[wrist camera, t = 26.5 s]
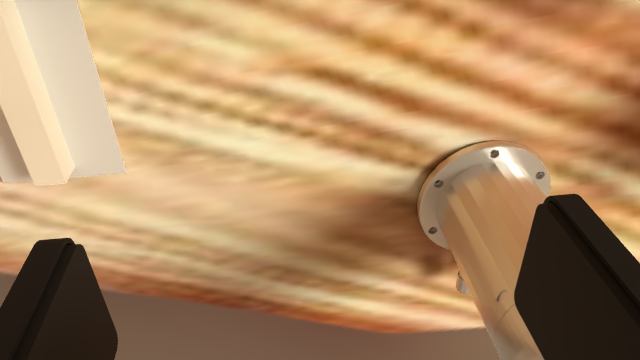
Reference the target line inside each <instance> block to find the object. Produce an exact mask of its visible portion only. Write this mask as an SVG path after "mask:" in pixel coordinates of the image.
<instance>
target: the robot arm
mask: <svg viewBox="0 0 640 360" xmlns="http://www.w3.org/2000/svg"><path fill="white" fill-rule="evenodd" d="M550 189H551V185H550V176H549V173H548V170H547V168H546V167H545V165H544V164H543V162H542V161H541V160H540V159H539V157H538V156H537V155H536V154H535V153H534V152H532V151H531V150H529V149H528V148H526V147H525V146H522V145H519V144H516V143H513V142H506V141H488V142H483V143H478V144H474V145H472V146H469V147H466V148H464V149H461V150H460V151H458V152H456V153H454V154H452V155H450V156H449V157H448V158H447V159H445V160H444V161H443V162H441V163H440V164H439V165H438V166H437V167H436V168H435V169H434V170H433V171H432V172H431V173H430V175H429V176H428V178H427V179H426V181H425V182H424V184H423V186H422V188H421V191H420V193H419V197H418V202H417V214H418V218H419V221H420V224H421V226H422V228H423V230H424V232H425V234H426V235H427V236H428V238H429V239H430V240H431V241H433V242H434V243H435V244H437V245H438V246H440V247H442V248H444V249H447V250H450V251H451V253H452V255H453V257H454V259H455V261H456V264H457V266H458V268H459V272H458V277H457V283H456V288H457V290H458V291H459V292H461V293H463V294H471V296H472V298H473V300H474V303H475V305H476V307H477V309H478V311H479V313H480V316H481V318H482V320H483V322H484V324H485V326H486V329H487V331H488V333H489V335H490V337H491V339H492V342H493V344H494V346H495V348H496V350H497V352H498V354H499V356H500V358H501V360H640V263H639V262H638V261H637V260H636V259H635V257H634V256H633V255H632V254H631V253H630V252H629V251H628V249H627V248H626V247H625V246H624V245H623V244H622V243H621V242H620V240H619V239H618V238H617V237H616V236H615V235H614V234H613V233H612V231H611V230H610V229H609V228H608V227H607V226H606V225H605V223H604V222H603V221H602V220H601V219H600V218H599V217H598V216H597V214H596V213H595V212H594V211H593V210H592V209H591V208H590V207H589V205H588V204H587V203H586V202H585V201H584V200H583V199H582V198H581V197H580V196H579V195H577V194H567V195H556V196H549V195H550ZM117 344H118V338H117V332H116V329H115V327H114V324H113V322H112V319H111V316H110V314H109V311H108V309H107V306H106V303H105V301H104V298H103V296H102V293H101V290H100V288H99V285H98V283H97V280H96V278H95V275H94V272H93V270H92V267H91V265H90V262H89V259H88V257H87V254H86V252H85V249H84V247H83V246H82V245H81V244H76V245H75V243H74V242H73V240H72V239H71V238H61V239H49V240H39V241H38V242H36V243H35V245H34V246H33V248H32V250H31V252H30V254H29V256H28V257H27V259H26V261H25V263H24V265H23V267H22V269H21V271H20V272H19V274H18V276H17V278H16V280H15V282H14V284H13V286H12V287H11V289H10V291H9V293H8V295H7V297H6V298H5V300H4V302H3V304H2V306H1V308H0V360H114V358H115V354H116V351H117Z"/></svg>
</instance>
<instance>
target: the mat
mask: <svg viewBox="0 0 640 360" xmlns="http://www.w3.org/2000/svg"><path fill="white" fill-rule="evenodd" d="M14 2H15V4H16V7H17V10H18V13H19V15H20V18H21V21H22V24H23V26H24V29H25V32H26V34H27V37H28V40H29V43H30V45H31V48H32V51H33V54H34V56H35V59H36V62H37V65H38V67H39V70H40V73H41V76H42V78H43V81H44V84H45V87H46V89H47V92H48V95H49V98H50V100H51V103H52V106H53V108H54V111H55V114H56V117H57V119H58V122H59V125H60V128H61V130H62V133H63V136H64V139H65V141H66V144H67V147H68V150H69V152H70V155H71V158H72V161H73V163H74V166H75V168H74V170H73V172H72V174H71V175H70V177H69V178H76V177H89V176H102V175H114V174H126V167H125V164H124V160H123V157H122V153H121V150H120V147H119V143H118V140H117V136H116V133H115V129H114V126H113V123H112V119H111V116H110V112H109V109H108V105H107V102H106V99H105V95H104V92H103V88H102V85H101V81H100V78H99V75H98V71H97V68H96V64H95V61H94V57H93V54H92V51H91V47H90V44H89V40H88V37H87V33H86V30H85V26H84V23H83V20H82V16H81V13H80V9H79V6H78V2H77V0H14ZM0 176H1V179H2V181H3V183H13V182H26V181H33V180H32V178H31V176H30V173H29V171H28V169H27V166H26V164H25V162H24V159H23V157H22V155H21V152H20V150H19V148H18V145H17V143H16V141H15V138H14V136H13V134H12V131H11V129H10V127H9V124H8V122H7V120H6V117H5V115H4V113H3V110H2V108H1V106H0Z"/></svg>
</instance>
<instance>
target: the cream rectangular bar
mask: <svg viewBox="0 0 640 360" xmlns="http://www.w3.org/2000/svg"><path fill="white" fill-rule="evenodd" d="M0 106H1V108H2V110H3V113H4V115H5V117H6V120H7V122H8V124H9V127H10V129H11V131H12V134H13V136H14V138H15V141H16V143H17V145H18V148H19V150H20V152H21V155H22V157H23V159H24V162H25V164H26V166H27V169H28V171H29V173H30V176H31V178H32V180H33V183H34V185H35V186H43V185H55V184H66V183H67V181H68V179H69V177H70V175H71V174H72V172H73V170H74V168H75V166H74V163H73V161H72V158H71V155H70V152H69V150H68V147H67V144H66V141H65V139H64V136H63V133H62V130H61V128H60V125H59V122H58V119H57V117H56V114H55V111H54V108H53V106H52V103H51V100H50V98H49V95H48V92H47V89H46V87H45V84H44V81H43V78H42V76H41V73H40V70H39V67H38V65H37V62H36V59H35V56H34V54H33V51H32V48H31V45H30V43H29V40H28V37H27V34H26V32H25V29H24V26H23V24H22V21H21V18H20V15H19V13H18V10H17V7H16V4H15V2H14V0H0Z"/></svg>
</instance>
